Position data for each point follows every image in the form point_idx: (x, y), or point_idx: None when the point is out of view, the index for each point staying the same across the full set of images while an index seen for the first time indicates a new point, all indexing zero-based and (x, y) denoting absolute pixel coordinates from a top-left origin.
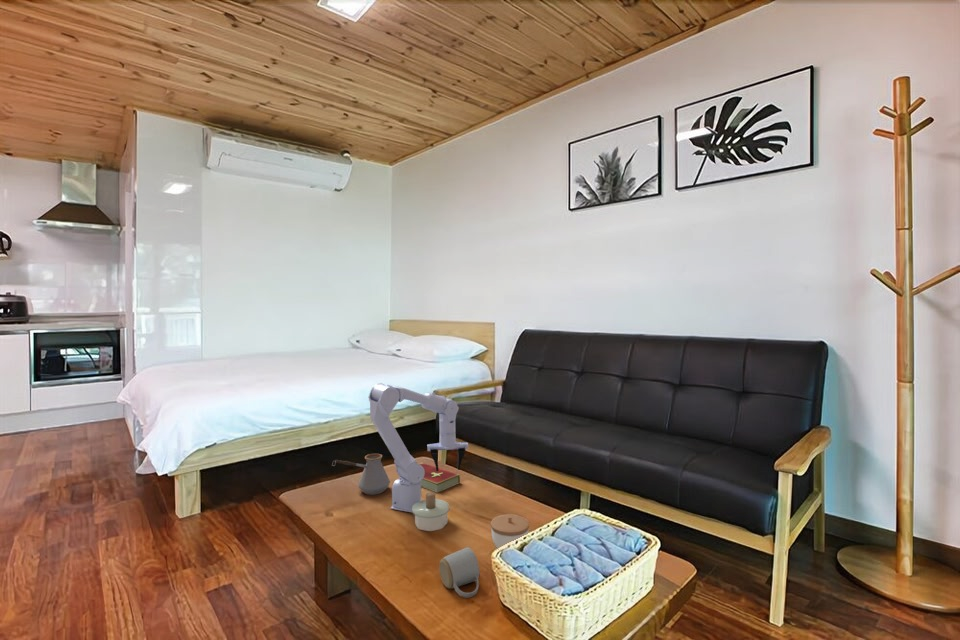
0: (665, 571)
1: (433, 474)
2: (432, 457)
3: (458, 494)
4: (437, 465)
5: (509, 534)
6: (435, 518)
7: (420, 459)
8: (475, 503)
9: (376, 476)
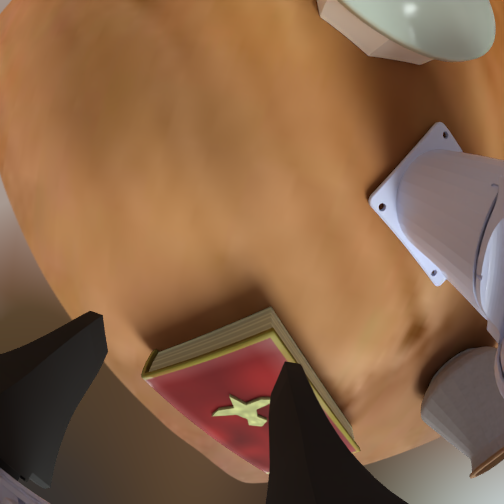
0: None
1: (258, 415)
2: (381, 484)
3: (171, 249)
4: (300, 401)
5: None
6: None
7: (252, 481)
8: (117, 119)
9: (497, 389)
